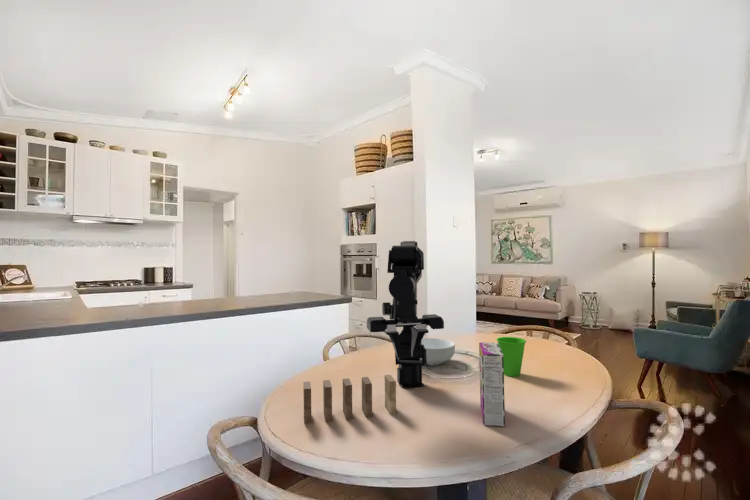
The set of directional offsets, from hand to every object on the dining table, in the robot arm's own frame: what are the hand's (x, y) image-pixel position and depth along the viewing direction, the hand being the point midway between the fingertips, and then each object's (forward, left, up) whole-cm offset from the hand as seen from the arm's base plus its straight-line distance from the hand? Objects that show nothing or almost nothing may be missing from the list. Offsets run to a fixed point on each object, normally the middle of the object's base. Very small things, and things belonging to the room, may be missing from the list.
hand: (405, 357), depth 96 cm
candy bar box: (-18, +9, -13) cm, 24 cm away
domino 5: (+4, 0, -13) cm, 14 cm away
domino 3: (+15, 0, -13) cm, 20 cm away
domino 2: (+20, 0, -13) cm, 23 cm away
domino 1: (+24, 0, -13) cm, 28 cm away
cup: (-40, -18, -13) cm, 46 cm away
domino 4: (+10, 0, -13) cm, 16 cm away
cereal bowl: (-20, -37, -13) cm, 44 cm away
